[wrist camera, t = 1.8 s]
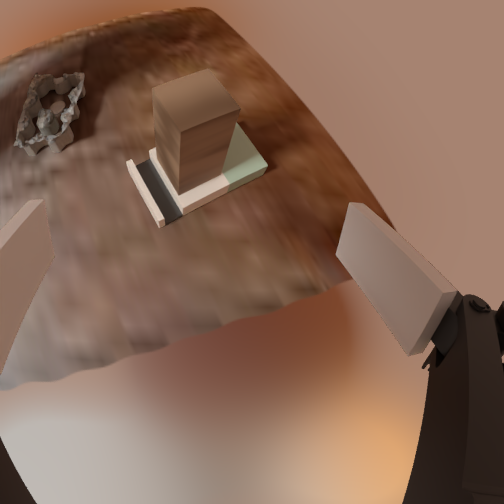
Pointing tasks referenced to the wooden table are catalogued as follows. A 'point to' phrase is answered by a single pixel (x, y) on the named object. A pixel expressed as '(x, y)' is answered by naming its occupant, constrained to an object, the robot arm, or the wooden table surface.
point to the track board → (175, 206)
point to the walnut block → (193, 128)
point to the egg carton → (49, 113)
